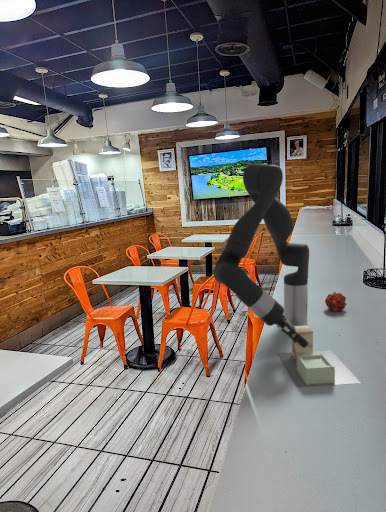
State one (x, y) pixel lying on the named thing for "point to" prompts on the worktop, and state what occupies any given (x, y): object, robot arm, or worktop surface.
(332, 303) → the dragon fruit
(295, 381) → the grey flat plate
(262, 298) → the robot arm
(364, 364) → the worktop surface
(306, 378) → the green plinth
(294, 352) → the birch pillar
